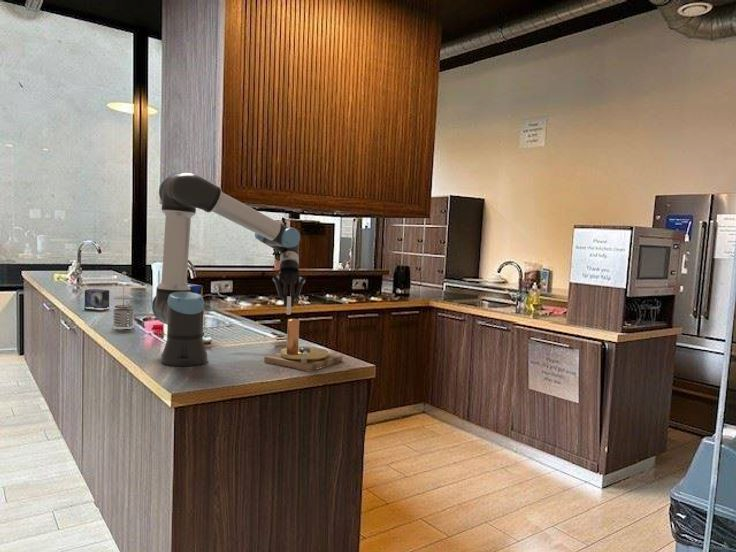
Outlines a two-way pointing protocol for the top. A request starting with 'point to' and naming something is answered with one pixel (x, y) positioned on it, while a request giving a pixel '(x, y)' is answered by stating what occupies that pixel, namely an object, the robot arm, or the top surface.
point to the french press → (123, 311)
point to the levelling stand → (302, 361)
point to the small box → (97, 298)
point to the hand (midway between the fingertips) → (288, 312)
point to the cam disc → (295, 351)
